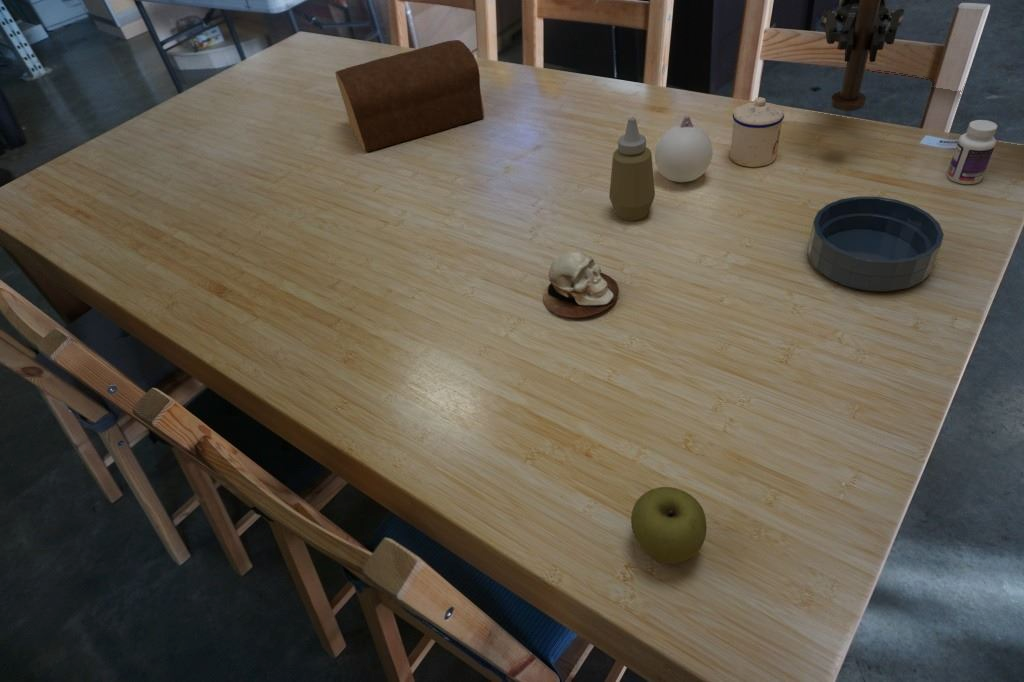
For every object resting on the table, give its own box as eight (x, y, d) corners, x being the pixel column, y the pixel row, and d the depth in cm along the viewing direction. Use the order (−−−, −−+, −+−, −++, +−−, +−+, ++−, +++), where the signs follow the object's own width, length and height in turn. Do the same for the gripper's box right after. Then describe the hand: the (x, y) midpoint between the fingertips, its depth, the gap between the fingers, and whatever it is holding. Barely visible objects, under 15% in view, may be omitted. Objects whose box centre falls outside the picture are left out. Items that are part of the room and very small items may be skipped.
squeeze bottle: (608, 202, 125) (605, 110, 113) (651, 198, 125) (653, 105, 112) (611, 227, 120) (609, 132, 107) (657, 223, 119) (660, 127, 107)
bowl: (958, 269, 100) (971, 236, 96) (865, 309, 97) (875, 277, 93) (868, 216, 113) (877, 185, 108) (783, 250, 109) (789, 219, 105)
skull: (638, 280, 106) (612, 264, 97) (608, 338, 107) (580, 328, 99) (579, 253, 112) (549, 236, 104) (551, 308, 114) (520, 296, 105)
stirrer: (871, 104, 118) (902, -19, 105) (846, 113, 117) (874, -10, 103) (848, 94, 122) (874, -26, 109) (823, 102, 121) (847, -18, 107)
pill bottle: (988, 176, 116) (1009, 124, 110) (970, 188, 115) (990, 135, 108) (957, 166, 120) (976, 114, 113) (939, 177, 118) (957, 125, 112)
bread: (350, 126, 165) (330, 60, 154) (463, 94, 170) (452, 28, 159) (365, 156, 152) (345, 86, 141) (488, 120, 158) (477, 51, 147)
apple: (680, 591, 70) (683, 556, 65) (616, 548, 74) (615, 512, 70) (717, 539, 74) (723, 503, 69) (654, 501, 78) (656, 464, 73)
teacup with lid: (782, 166, 127) (792, 107, 119) (733, 170, 128) (740, 112, 120) (767, 136, 136) (776, 80, 128) (721, 141, 137) (727, 85, 129)
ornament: (692, 159, 133) (696, 101, 125) (720, 182, 126) (725, 122, 118) (645, 173, 132) (646, 115, 123) (670, 197, 124) (673, 137, 116)
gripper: (904, 24, 124) (910, 77, 108) (811, 25, 129) (804, 75, 114) (916, -20, 119) (924, 29, 103) (818, -17, 124) (812, 29, 109)
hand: (861, 53), depth 109 cm, fingers closed on stirrer, 3 cm apart
